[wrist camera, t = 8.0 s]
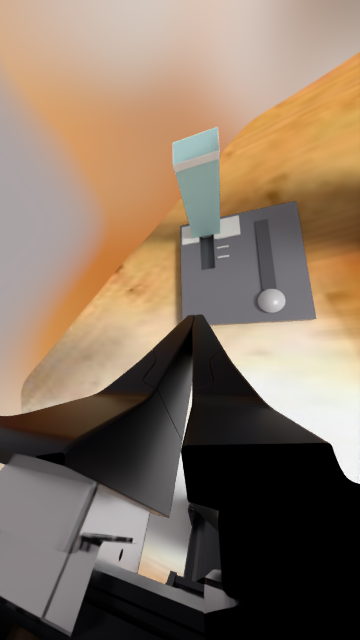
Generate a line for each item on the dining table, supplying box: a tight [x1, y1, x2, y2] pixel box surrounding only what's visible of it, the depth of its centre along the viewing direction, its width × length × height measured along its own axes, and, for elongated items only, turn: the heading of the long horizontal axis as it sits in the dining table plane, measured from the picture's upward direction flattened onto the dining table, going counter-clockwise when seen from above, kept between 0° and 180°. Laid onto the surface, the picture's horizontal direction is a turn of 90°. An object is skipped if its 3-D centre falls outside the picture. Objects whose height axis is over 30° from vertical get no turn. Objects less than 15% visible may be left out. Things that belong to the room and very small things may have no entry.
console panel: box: [180, 201, 316, 325], centre depth 22 cm, size 16×16×1 cm
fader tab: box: [173, 127, 220, 238], centre depth 19 cm, size 3×4×11 cm, turn 91°
